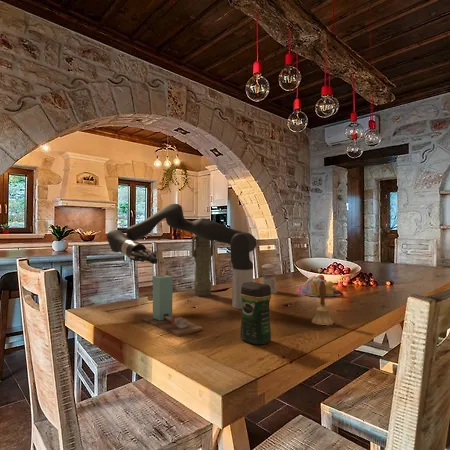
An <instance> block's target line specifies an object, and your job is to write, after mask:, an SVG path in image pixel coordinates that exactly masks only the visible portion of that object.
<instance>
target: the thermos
mask: <svg viewBox="0 0 450 450" xmlns="http://www.w3.org/2000/svg"><path fill="white" fill-rule="evenodd" d="M214 242H215V241H212V240H208V239H205V238H203V237H200V236H198V235H196V234H195V235H194V236H193V237H192V239H191V257H192V258H194V260H193V261H194V281H193V291H194V294H193V295H194V297H195V296H196V297H209V296H211V291H212V280H211V262H212V257H213V256H214Z"/></svg>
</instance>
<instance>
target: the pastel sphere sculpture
mask: <svg viewBox="0 0 450 450" xmlns="http://www.w3.org/2000/svg"><path fill="white" fill-rule="evenodd" d="M306 280H307V281H305V283H299V284H300V285H299V287H298V288H297V289H298V290H297V291H296V293H298V294H299V295H301V296H302V295H303V296H309V297H320V294H319V285H320V282H321V281H324V283H325V286H326V294H325V297H337V296H342V295H343V292H342V291H341V290H340V289H337V288H336V286H335V283H334V282H333V281H331V280H329V281H327V280H326V279H325V276H324V275H323V274H318V275H317V276H316V275H313V276H310V277H308V279H306ZM334 286H335V287H334Z"/></svg>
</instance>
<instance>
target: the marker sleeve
mask: <svg viewBox="0 0 450 450" xmlns="http://www.w3.org/2000/svg"><path fill="white" fill-rule="evenodd" d="M173 278H174V277H173V276H172V275H169V274H168V275H167V274H164V275H163V274H162V275H155V276H152V316H153V318H154V319H157V320H159V321H161V320H164V315H166V316H168V317H172V316H173V294H174V293H173V290H174V289H173V286H174V284H173V281H174V280H173Z"/></svg>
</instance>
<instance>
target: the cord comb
mask: <svg viewBox="0 0 450 450" xmlns="http://www.w3.org/2000/svg"><path fill="white" fill-rule="evenodd" d="M142 321H145V322H146V323H149V324H151V325H152V326H155V327H158V328H160V329H162V330H164V331H167V332H168V333H170V334H173V335H175V336H176V337H181V336H184V335H189V334H191V333H195V332H199V331H203V327H202V326H199V325H197V324H195V323H192V322H189V321H188V319H185V318H183V317H182V316H181V315H176V316H174V315H172V317H168V316H166V315H164V320H161V321H159V320H157V319H154V318H153V315H150V316H149V315H148V316H145V317H144V316H143V317H142Z"/></svg>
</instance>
